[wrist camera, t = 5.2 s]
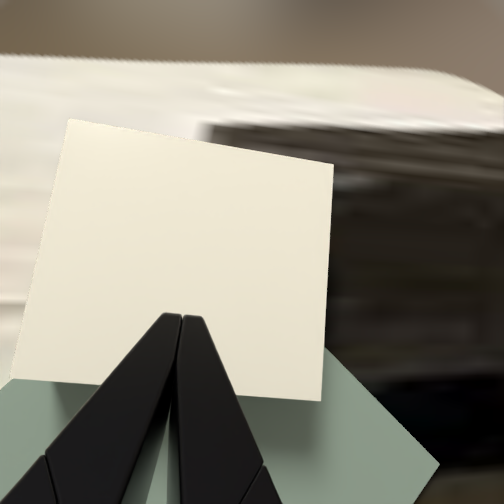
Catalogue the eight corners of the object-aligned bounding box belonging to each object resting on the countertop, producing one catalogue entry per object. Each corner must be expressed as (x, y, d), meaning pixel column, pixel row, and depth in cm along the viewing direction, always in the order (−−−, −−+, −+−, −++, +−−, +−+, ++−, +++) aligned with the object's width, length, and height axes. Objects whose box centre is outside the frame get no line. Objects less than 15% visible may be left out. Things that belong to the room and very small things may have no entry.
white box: (320, 401, 11) (333, 164, 13) (9, 378, 10) (68, 118, 12) (293, 385, 14) (307, 194, 16) (49, 366, 13) (92, 159, 15)
